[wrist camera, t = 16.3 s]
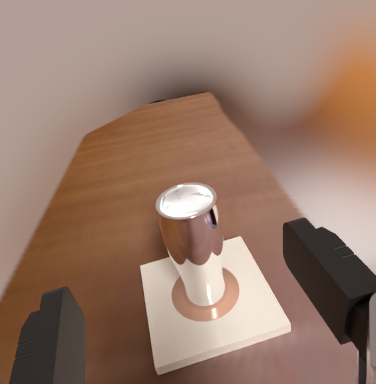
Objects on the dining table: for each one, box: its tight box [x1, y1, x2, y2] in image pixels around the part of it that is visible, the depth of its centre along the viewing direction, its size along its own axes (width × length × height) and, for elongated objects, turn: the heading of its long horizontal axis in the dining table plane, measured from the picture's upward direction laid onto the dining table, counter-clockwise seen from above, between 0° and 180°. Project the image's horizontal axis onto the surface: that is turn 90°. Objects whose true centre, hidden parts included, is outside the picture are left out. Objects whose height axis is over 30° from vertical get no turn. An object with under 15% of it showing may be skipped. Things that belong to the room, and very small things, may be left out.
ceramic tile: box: [140, 236, 291, 375], centre depth 43 cm, size 16×16×2 cm
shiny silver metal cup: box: [156, 183, 229, 311], centre depth 38 cm, size 7×7×15 cm
